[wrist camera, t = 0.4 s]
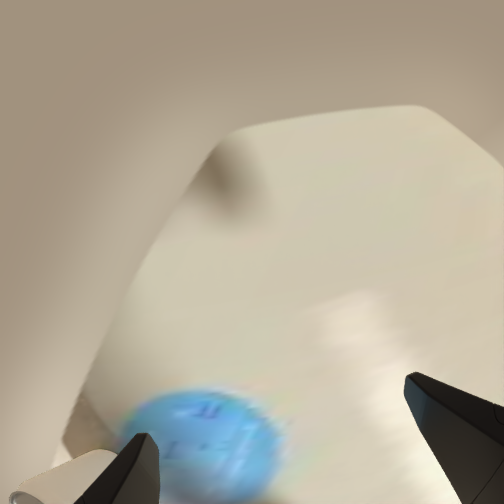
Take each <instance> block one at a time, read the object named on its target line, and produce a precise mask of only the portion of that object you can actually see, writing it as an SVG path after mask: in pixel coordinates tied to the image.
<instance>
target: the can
mask: <svg viewBox="0 0 504 504" xmlns="http://www.w3.org/2000/svg"><path fill="white" fill-rule="evenodd" d="M116 456H117V454H115V453H113V452H111V451H108V450H103V449H96V450H92V451H90V452H87V453H85V454H83V455H81V456H79V457H77V458H75V459H73V460H71V461H68V462H66V463H64V464H62V465H60V466H58V467H55V468H53V469H51V470H49V471H47V472H44V473H42V474H40V475H38V476H35V477H33V478H31V479H29V480H27V481H25V482H23V483H22V484H21V485H20V486H19V487H18V489H17V491H16V492H13V493H12V494H11V495H10V498H9V504H73V503H74V502H75V501H76V500H77V499H78V498H79V497H80V496H81V495H83V493H84V492H85V491H86V490H87V488H88V487H89V486H90V485H91V484H92V483H93V482H94V481H95V480H96V479H97V477H98V476H99V475H100V474H101V473H102V472H103V471H104V470H105V469H106V468H107V466H108V465H109V464H110V463H111V462H112V461H113V460H114V459H115V457H116Z"/></svg>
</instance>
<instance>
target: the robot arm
mask: <svg viewBox="0 0 504 504" xmlns="http://www.w3.org/2000/svg"><path fill="white" fill-rule="evenodd" d="M404 397H405V399H406V401H407V404H408V406H409V408H410V410H411V412H412V415H413V417H414V419H415V421H416V424H417V426H418V428H419V430H420V432H421V433H422V435H423V437H424V438H425V440H426V442H427V443H428V445H429V447H430V448H431V450H432V452H433V454H434V455H435V457H436V459H437V460H438V462H439V464H440V466H441V467H442V469H443V471H444V472H445V474H446V476H447V478H448V479H449V481H450V483H451V485H452V487H453V488H454V490H455V492H456V494H457V495H458V497H459V499H460V501H461V503H462V504H504V407H503V406H500V405H497V404H495V403H494V404H493V403H492V402H490V401H487V400H484V399H482V398H479V397H477V396H474V395H472V394H469V393H467V392H464V391H462V390H460V389H457V388H455V387H452V386H450V385H447V384H445V383H443V382H440V381H438V380H436V379H433V378H431V377H428V376H426V375H424V374H421V373H419V372H413V373H411V374H409V375H407V376H406V378H405V385H404ZM159 494H160V473H159V450H158V447H157V445H156V444H155V442H154V440H153V439H152V437H151V436H150V434H148V433H137V434H136V435H135V436H134V437H133V438H132V439H131V441H130V442H129V443H128V444H127V445H126V446H125V447H124V448H123V450H122V451H121V452H120V453H119V454H118V455H117V456H116V457H115V459H114V460H113V461H112V462H111V463H110V464H109V465H108V466H107V468H106V469H105V470H104V471H103V472H102V473H101V474H100V475H99V476H98V477H97V479H96V480H95V481H94V482H93V483H92V484H91V485H90V486H89V487H88V488H87V490H86V491H85V492H84V493H83V495H81V496H80V497H79V498H78V499H77V500H76V501H75V502H74V503H73V504H159Z"/></svg>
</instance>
